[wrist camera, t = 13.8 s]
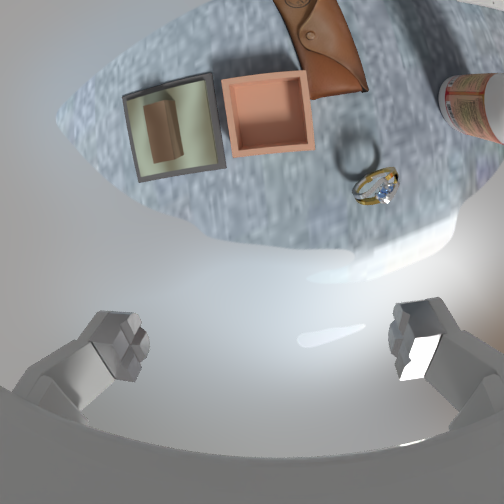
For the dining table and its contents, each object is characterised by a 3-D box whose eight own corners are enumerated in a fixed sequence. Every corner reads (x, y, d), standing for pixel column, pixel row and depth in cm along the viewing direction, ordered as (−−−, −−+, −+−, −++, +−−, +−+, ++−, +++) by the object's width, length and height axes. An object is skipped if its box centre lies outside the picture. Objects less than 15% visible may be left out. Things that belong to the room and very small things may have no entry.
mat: (212, 73, 33) (211, 72, 32) (226, 167, 39) (226, 168, 39) (123, 97, 35) (122, 97, 34) (139, 182, 41) (138, 182, 41)
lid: (205, 80, 33) (195, 77, 29) (218, 162, 39) (210, 169, 34) (128, 101, 35) (112, 101, 31) (143, 175, 40) (128, 183, 36)
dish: (302, 75, 32) (305, 70, 28) (310, 145, 37) (315, 150, 32) (228, 83, 33) (221, 79, 29) (238, 152, 38) (232, 157, 34)
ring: (382, 157, 36) (404, 168, 29) (391, 176, 37) (413, 191, 30) (342, 178, 38) (355, 194, 31) (352, 197, 39) (366, 216, 32)
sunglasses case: (266, -5, 26) (291, -27, 21) (305, -5, 28) (332, -22, 22) (309, 104, 34) (342, 97, 28) (345, 96, 36) (378, 90, 30)
